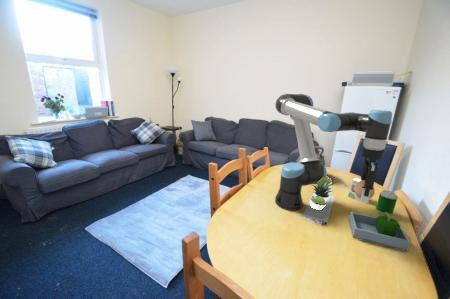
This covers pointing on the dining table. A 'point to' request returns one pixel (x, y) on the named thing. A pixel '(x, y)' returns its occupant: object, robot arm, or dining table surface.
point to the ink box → (352, 187)
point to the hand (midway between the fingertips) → (362, 198)
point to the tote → (376, 232)
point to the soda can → (386, 202)
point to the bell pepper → (387, 225)
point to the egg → (359, 189)
